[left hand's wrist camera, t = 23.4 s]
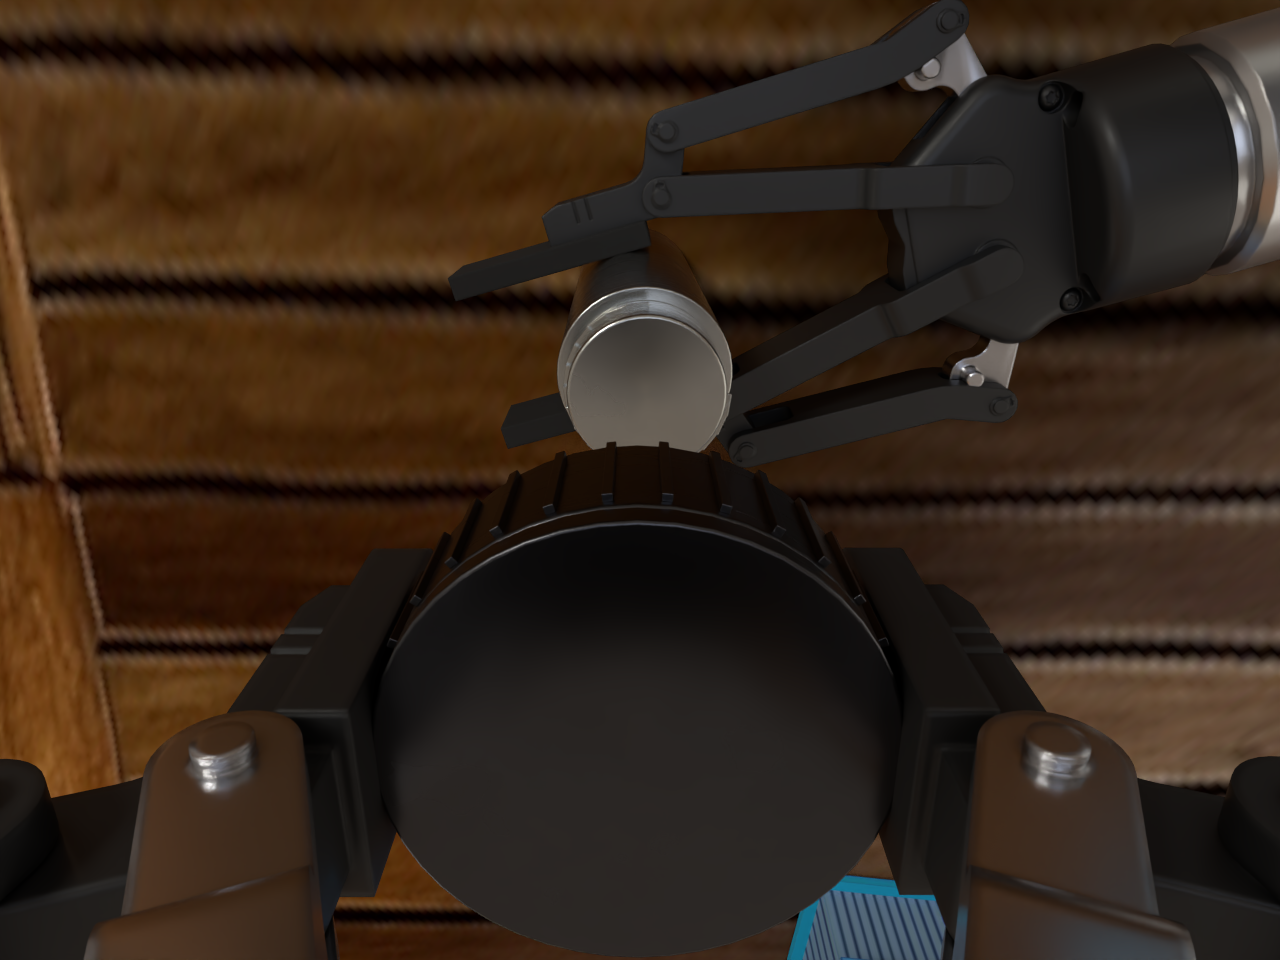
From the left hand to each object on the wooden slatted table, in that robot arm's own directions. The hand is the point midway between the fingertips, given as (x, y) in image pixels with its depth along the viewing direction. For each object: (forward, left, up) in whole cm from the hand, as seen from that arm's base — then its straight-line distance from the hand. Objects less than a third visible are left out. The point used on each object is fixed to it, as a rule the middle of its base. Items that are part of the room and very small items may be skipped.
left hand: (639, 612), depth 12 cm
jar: (0, 0, -26) cm, 26 cm away
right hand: (+2, -5, -20) cm, 21 cm away
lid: (0, 0, +3) cm, 3 cm away
